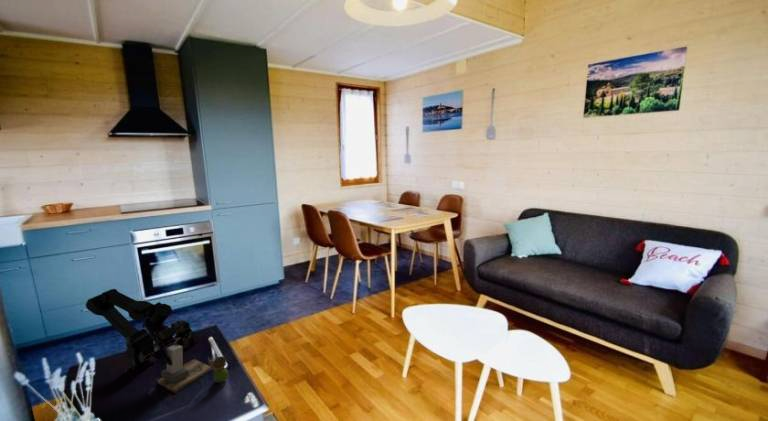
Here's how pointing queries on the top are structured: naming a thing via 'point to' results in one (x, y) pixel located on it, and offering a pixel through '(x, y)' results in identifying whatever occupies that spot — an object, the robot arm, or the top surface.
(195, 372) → the oak board
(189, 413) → the top surface
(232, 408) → the top surface
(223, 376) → the snail figurine
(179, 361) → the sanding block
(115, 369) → the top surface
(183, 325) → the door stopper
